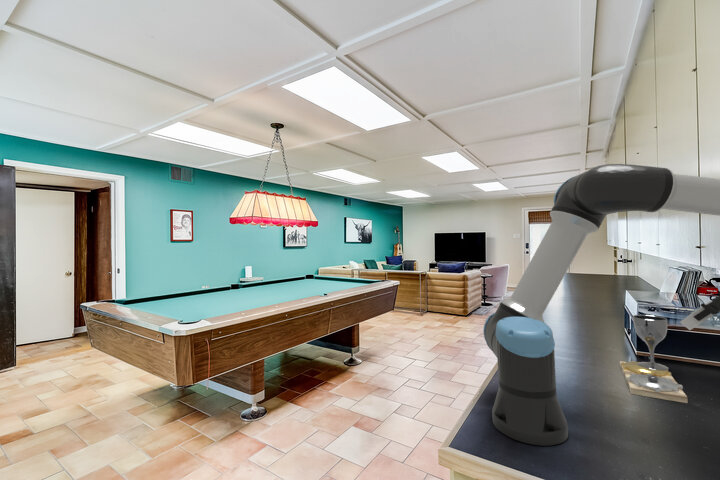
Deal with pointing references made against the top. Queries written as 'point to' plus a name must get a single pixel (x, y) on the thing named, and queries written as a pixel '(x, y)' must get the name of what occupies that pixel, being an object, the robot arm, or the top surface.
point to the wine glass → (651, 336)
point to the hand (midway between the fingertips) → (689, 322)
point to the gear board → (652, 382)
